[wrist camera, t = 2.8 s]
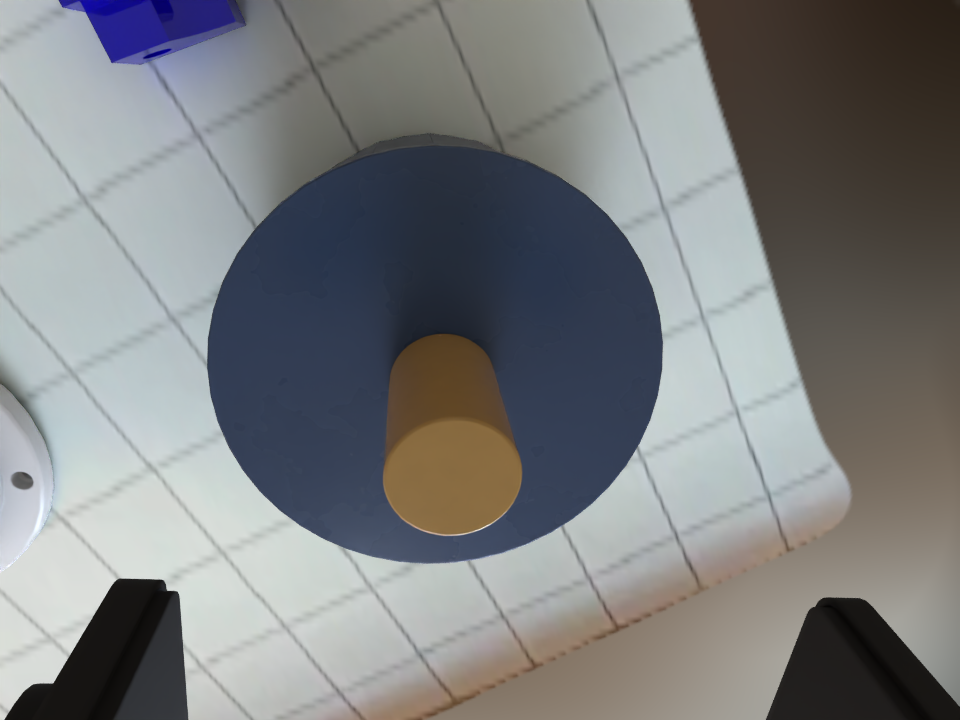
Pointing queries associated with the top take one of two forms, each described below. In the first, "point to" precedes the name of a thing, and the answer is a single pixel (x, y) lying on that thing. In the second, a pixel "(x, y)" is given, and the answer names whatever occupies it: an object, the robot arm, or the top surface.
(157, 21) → the cable holder
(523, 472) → the tin lid
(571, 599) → the top surface
